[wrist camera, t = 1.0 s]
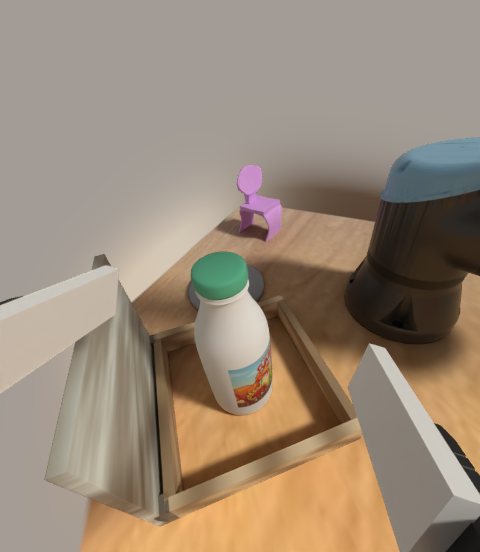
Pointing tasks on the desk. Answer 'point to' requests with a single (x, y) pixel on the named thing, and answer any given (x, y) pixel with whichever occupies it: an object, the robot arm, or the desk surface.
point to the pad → (254, 287)
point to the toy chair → (257, 201)
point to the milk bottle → (231, 334)
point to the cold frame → (160, 419)
